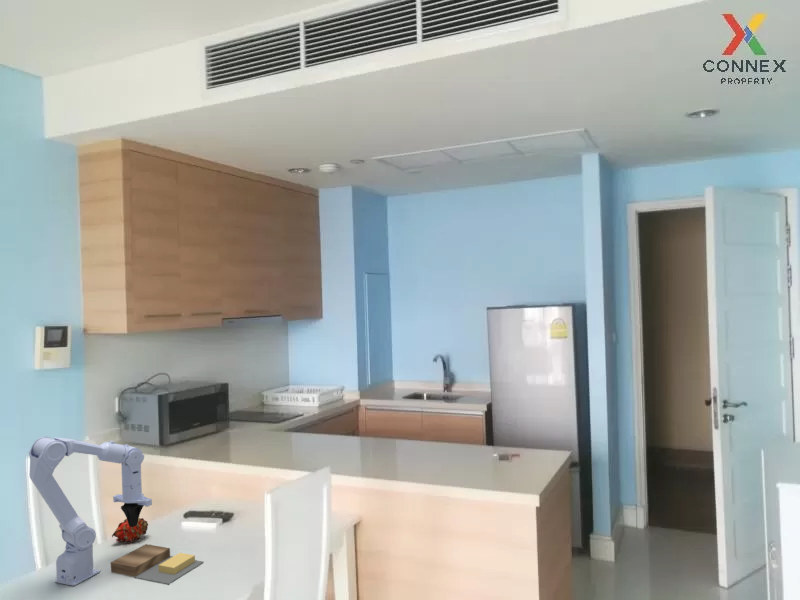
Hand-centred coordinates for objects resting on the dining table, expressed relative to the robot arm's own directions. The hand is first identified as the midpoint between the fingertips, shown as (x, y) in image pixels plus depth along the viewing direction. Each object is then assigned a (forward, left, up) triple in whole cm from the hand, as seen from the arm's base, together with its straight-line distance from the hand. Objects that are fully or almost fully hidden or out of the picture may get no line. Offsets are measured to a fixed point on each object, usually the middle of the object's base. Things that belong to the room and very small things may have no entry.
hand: (133, 525), depth 194 cm
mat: (-4, -19, -10) cm, 21 cm away
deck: (-4, -7, -10) cm, 13 cm away
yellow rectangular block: (-2, -19, -8) cm, 21 cm away
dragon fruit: (+9, +11, -10) cm, 17 cm away
